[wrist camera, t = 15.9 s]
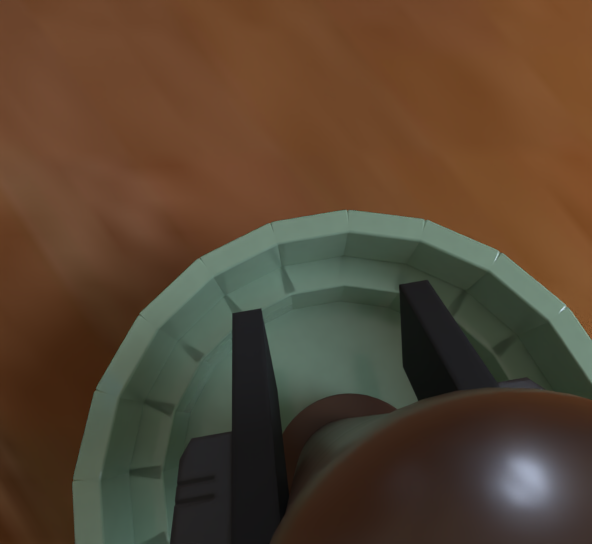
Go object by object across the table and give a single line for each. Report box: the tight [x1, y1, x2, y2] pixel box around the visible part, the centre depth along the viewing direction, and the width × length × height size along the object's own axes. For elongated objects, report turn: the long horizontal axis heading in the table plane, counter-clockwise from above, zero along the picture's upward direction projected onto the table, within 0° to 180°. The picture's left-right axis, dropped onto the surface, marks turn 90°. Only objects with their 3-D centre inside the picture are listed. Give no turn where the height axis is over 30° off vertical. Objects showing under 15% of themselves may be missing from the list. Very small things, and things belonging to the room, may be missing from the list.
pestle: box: [270, 387, 592, 544], centre depth 10 cm, size 5×5×18 cm
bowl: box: [72, 210, 592, 544], centre depth 17 cm, size 16×16×6 cm
